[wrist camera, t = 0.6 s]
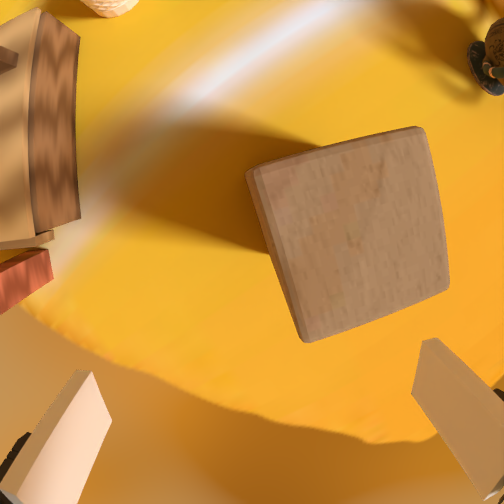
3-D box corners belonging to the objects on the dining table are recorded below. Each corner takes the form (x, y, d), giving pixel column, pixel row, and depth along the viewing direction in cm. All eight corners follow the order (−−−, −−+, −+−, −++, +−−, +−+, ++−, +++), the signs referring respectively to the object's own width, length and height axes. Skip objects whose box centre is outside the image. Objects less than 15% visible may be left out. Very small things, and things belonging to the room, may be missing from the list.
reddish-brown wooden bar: (27, 251, 35) (-30, 278, 23) (48, 249, 35) (-9, 277, 23) (32, 279, 36) (-20, 312, 24) (53, 278, 36) (1, 314, 24)
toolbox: (-6, 72, 28) (-43, 61, 19) (80, 37, 28) (46, 11, 20) (-5, 229, 34) (-45, 243, 25) (81, 218, 34) (40, 232, 25)
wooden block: (270, 256, 36) (302, 349, 17) (243, 171, 34) (247, 167, 14) (351, 230, 36) (453, 290, 16) (329, 147, 33) (426, 123, 14)
